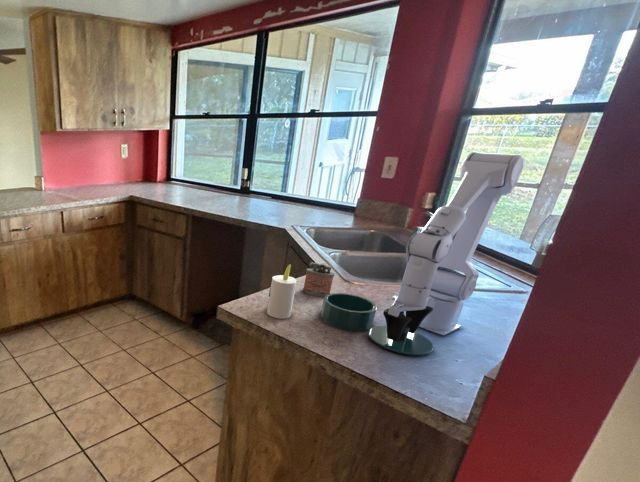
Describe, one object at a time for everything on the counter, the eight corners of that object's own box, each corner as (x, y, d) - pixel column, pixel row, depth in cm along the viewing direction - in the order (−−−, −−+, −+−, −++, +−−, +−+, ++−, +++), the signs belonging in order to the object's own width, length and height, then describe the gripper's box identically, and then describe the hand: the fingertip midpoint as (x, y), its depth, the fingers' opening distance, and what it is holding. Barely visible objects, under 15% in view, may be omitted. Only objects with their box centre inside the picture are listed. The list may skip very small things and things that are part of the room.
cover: (386, 325, 108) (390, 309, 106) (443, 347, 97) (449, 331, 96) (356, 337, 102) (360, 321, 100) (413, 363, 91) (419, 345, 89)
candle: (266, 307, 118) (274, 258, 112) (290, 310, 116) (299, 261, 110) (265, 316, 113) (273, 265, 107) (290, 320, 110) (299, 268, 105)
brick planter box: (330, 294, 127) (337, 264, 123) (328, 298, 124) (335, 267, 121) (303, 289, 131) (308, 260, 127) (301, 292, 128) (306, 263, 125)
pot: (338, 306, 119) (342, 289, 117) (381, 324, 109) (386, 305, 107) (311, 316, 113) (314, 298, 111) (353, 335, 103) (358, 316, 101)
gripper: (414, 273, 100) (399, 322, 105) (381, 284, 93) (367, 335, 99) (446, 282, 95) (429, 333, 100) (413, 294, 88) (397, 348, 93)
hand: (400, 335), depth 99 cm, fingers open, 7 cm apart
